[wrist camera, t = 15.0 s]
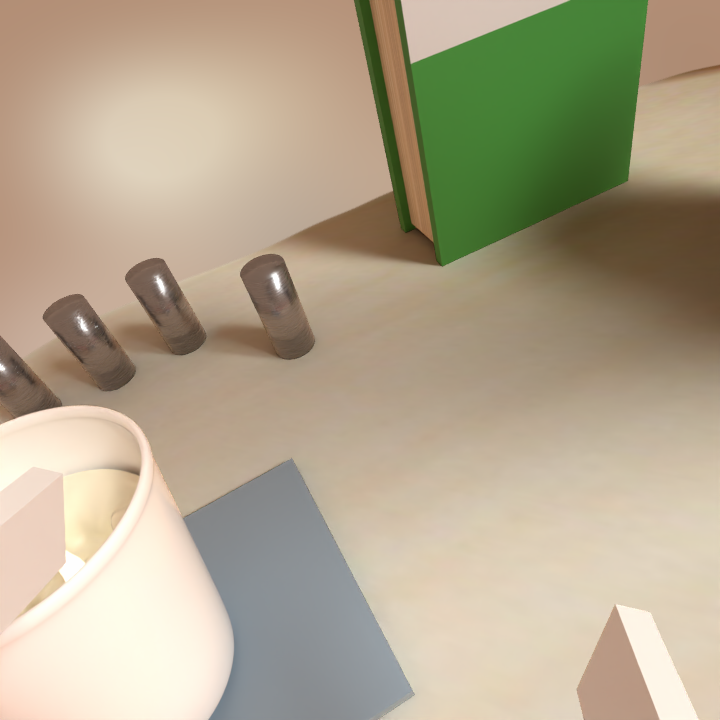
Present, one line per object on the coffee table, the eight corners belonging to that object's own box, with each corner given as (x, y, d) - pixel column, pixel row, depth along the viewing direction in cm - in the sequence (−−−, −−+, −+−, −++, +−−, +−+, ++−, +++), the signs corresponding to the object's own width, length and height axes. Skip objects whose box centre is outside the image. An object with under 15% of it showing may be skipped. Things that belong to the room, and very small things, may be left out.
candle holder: (296, 633, 25) (208, 456, 18) (119, 874, 19) (-116, 758, 12) (164, 542, 30) (55, 377, 23) (-6, 710, 25) (-222, 561, 17)
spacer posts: (277, 286, 47) (247, 214, 42) (321, 346, 40) (290, 267, 35) (-69, 454, 41) (-149, 393, 37) (-86, 556, 35) (-187, 497, 30)
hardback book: (442, 266, 43) (380, -132, 27) (401, 228, 49) (328, -123, 32) (627, 180, 46) (674, -232, 29) (569, 153, 51) (580, -209, 35)
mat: (295, 464, 33) (291, 458, 32) (414, 694, 23) (412, 690, 22) (-4, 629, 29) (-12, 625, 29) (-17, 983, 20) (-29, 985, 19)
